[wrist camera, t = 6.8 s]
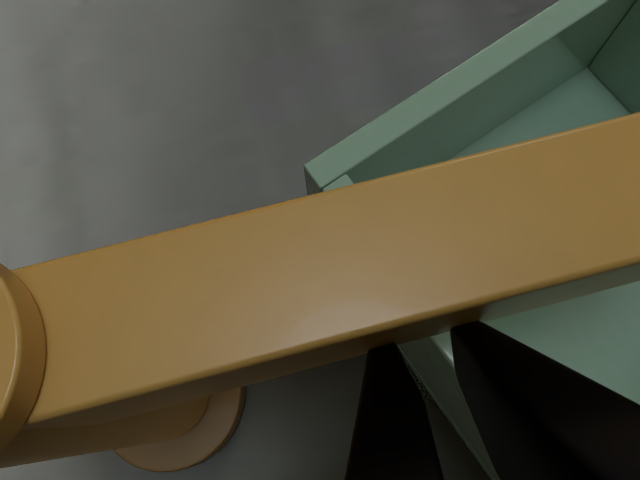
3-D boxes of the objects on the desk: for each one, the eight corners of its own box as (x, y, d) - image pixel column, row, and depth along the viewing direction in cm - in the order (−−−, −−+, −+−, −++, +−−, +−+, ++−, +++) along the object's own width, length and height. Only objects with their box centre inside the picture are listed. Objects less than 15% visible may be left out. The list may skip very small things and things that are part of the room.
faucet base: (272, 412, 17) (269, 413, 16) (149, 500, 16) (139, 504, 15) (199, 297, 18) (192, 292, 17) (80, 375, 17) (68, 374, 16)
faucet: (48, 479, 15) (-576, 623, 5) (35, 375, 16) (-528, 305, 6) (642, 318, 16) (1216, 144, 6) (603, 226, 17) (1045, -79, 6)
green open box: (863, 348, 17) (1078, 322, 12) (570, 591, 15) (680, 674, 10) (581, 51, 19) (661, -67, 15) (311, 230, 18) (302, 164, 13)
